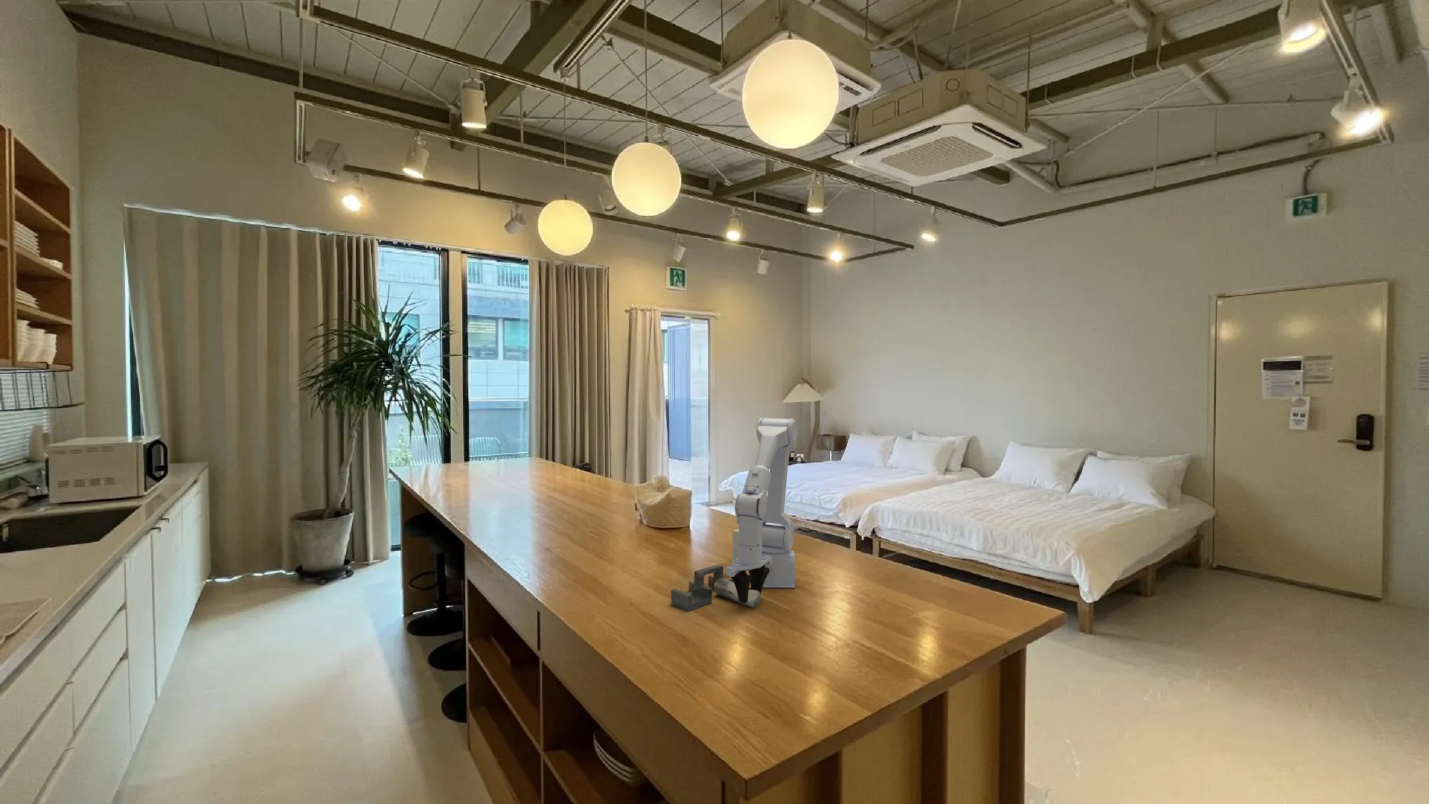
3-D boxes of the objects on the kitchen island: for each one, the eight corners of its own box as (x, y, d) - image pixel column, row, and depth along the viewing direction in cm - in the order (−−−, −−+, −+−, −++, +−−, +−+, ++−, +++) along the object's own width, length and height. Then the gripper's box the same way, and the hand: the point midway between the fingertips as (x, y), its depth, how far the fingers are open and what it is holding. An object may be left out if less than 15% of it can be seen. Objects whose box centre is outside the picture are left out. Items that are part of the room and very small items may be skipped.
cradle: (671, 604, 142) (671, 589, 142) (695, 596, 148) (695, 582, 148) (687, 611, 138) (688, 596, 138) (711, 602, 144) (712, 588, 144)
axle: (713, 596, 148) (713, 580, 148) (724, 591, 151) (724, 576, 151) (749, 609, 140) (749, 593, 140) (760, 604, 143) (760, 588, 142)
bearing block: (688, 591, 152) (689, 569, 151) (722, 580, 160) (722, 559, 160) (705, 597, 147) (705, 575, 147) (738, 585, 156) (738, 564, 156)
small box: (747, 569, 169) (748, 533, 169) (731, 565, 173) (732, 530, 173) (762, 563, 176) (763, 528, 176) (746, 559, 179) (747, 525, 179)
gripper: (757, 534, 150) (756, 588, 150) (717, 545, 140) (716, 602, 140) (779, 540, 145) (778, 595, 145) (738, 551, 135) (738, 610, 135)
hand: (749, 599), depth 142 cm, fingers closed on axle, 4 cm apart
